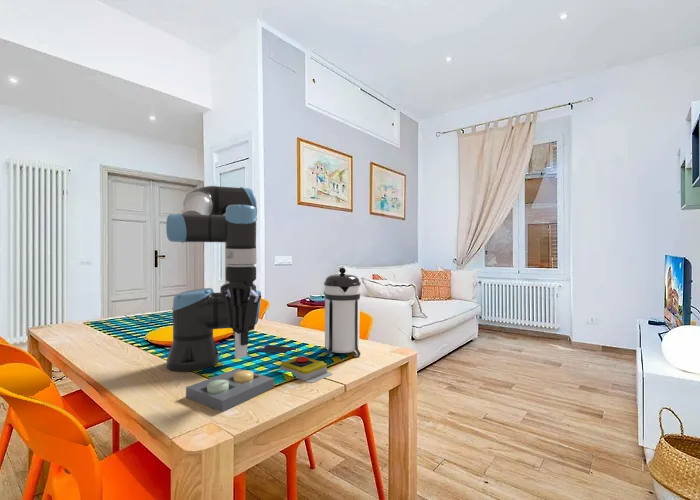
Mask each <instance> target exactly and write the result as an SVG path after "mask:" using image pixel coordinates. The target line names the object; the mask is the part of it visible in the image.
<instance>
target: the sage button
mask: <svg viewBox="0 0 700 500" xmlns="http://www.w3.org/2000/svg"><path fill="white" fill-rule="evenodd" d="M227 390H229V382H228V381H227V380H215V381H211V382H209V383H208V384H207V392H208V393H211V394H213V395H217V394H219V393H222V392H224V391H227Z"/></svg>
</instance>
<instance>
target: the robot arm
mask: <svg viewBox="0 0 700 500" xmlns="http://www.w3.org/2000/svg"><path fill="white" fill-rule="evenodd" d="M182 204H183V205H182V207H183V209H182V211H181V213H172V214H171V213H170V214H169V215H167V217H166V223H165V224H166V226H165V229H166V232H165V233H166V236H167V237H166V238H167V239H168V241H169V242H173V243H183V244H184V243H224V260H225V261H224V283H223V284H222V285H221V286H220V288H219V289H220V291H219V292H214V289H213V288H212V287H207V288H205V287H203V288H196V289H190V290H186V291H182V292H180V293H177V294H176V295H174V297H173V299H172V300H173V301H172V308H171V310H172V344H171V346H170V349H169V353H168V356H167V358H166V368H167V369H168V370H170V371H174V372H193V371H194V372H195V371H200V370H205V369H207V368H208V369H209V368H210V367H213V366H215V365H216V364H218V363H219V361H220V360H219V359H220V355H219V354H220V353H219V350H218V348H217V344H216V342H215V339H214V330H220V329H232V332H233V338H234V339H233V342H234V358H235V359H238V360H239V359H242V358H246V357H248V345H249V332H251V331H254V330H255V326H256V325H257V323H258V322H259V318H260V311H261V302H262V291H260V290H257V285H256V284H255V283H254V282H255V281H256V280H257V266H255V265H256V264H257V221H258V218H257V217H258V208H257V207H258V206H257V199H256V195H255V191H254V189H251V188H248V187H242V186H240V187H234V186H232V187H231V186H229V187H228V186H215V185H208V186H203V187H199V188H196V189H194V190H191V191H190V192H189V193H187V194H186V195H185V197H184V200H183V203H182Z"/></svg>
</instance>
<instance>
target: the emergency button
mask: <svg viewBox="0 0 700 500" xmlns="http://www.w3.org/2000/svg"><path fill="white" fill-rule="evenodd" d="M327 366H328V365H327V363H326V362H323V361H320V360H316V359H313V358H310V357H306V356H303V355H302V356H298V357H294V358H291V359H289V360H286V361H282V362H281V363H280V369H281V370H284V371H289V372H292V373H293V374H294V375H295V376H296V377H297V378H296V379H297V380H299V381H303V382H306V383H307V384H308V383H309V384H312V383H317V382H318V381H321V380H323V379H325V378H328V377H331V376H332V375H333V373H332V372H330V371H328V370H327Z"/></svg>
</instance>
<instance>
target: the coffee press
mask: <svg viewBox="0 0 700 500" xmlns="http://www.w3.org/2000/svg"><path fill="white" fill-rule="evenodd" d="M338 271H339V273H340V274H332V275H329V276H327V277H326V278H325V281H324V282H323V285H324V349H325V348H326V349H327V350H326V349H325V350H326V351H327V353H326V357H327V356H330V354H331V355H333V356H334V354H338V353H339V354H347V353H352V354H353V356H354V357H356V358H358V357H360V356H361V352H360V350H359V346H360V299H361V293H360V287H361V281H360V279H359V277H358V276H355V274H353V275H352V274H346V272H347V270H346V268H345V267H342V266H341V267H340V268H339V269H338Z"/></svg>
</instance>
